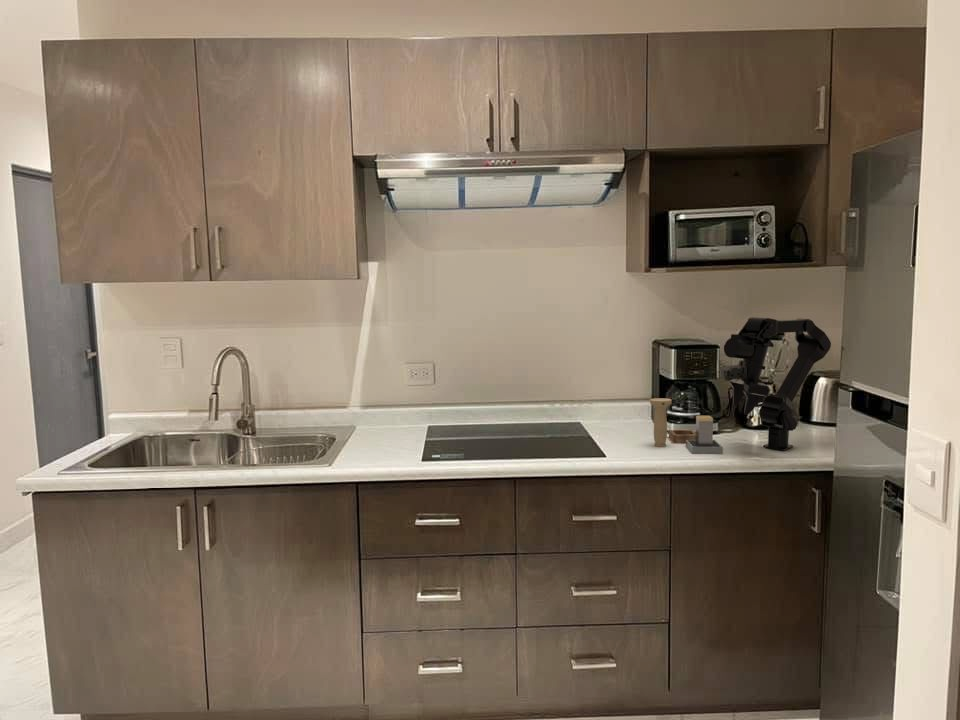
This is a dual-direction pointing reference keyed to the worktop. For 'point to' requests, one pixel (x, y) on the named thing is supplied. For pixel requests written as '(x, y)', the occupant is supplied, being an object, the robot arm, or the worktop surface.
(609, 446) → the worktop surface
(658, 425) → the handle
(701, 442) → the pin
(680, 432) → the holder
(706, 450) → the tray
